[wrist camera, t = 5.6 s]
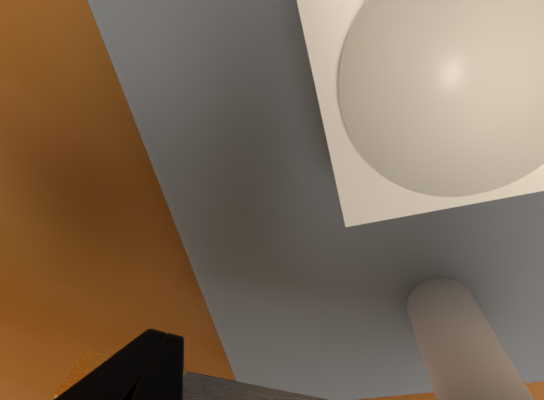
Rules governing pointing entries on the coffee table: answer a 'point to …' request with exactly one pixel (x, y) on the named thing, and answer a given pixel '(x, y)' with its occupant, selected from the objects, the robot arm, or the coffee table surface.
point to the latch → (193, 384)
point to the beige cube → (428, 101)
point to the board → (317, 222)
